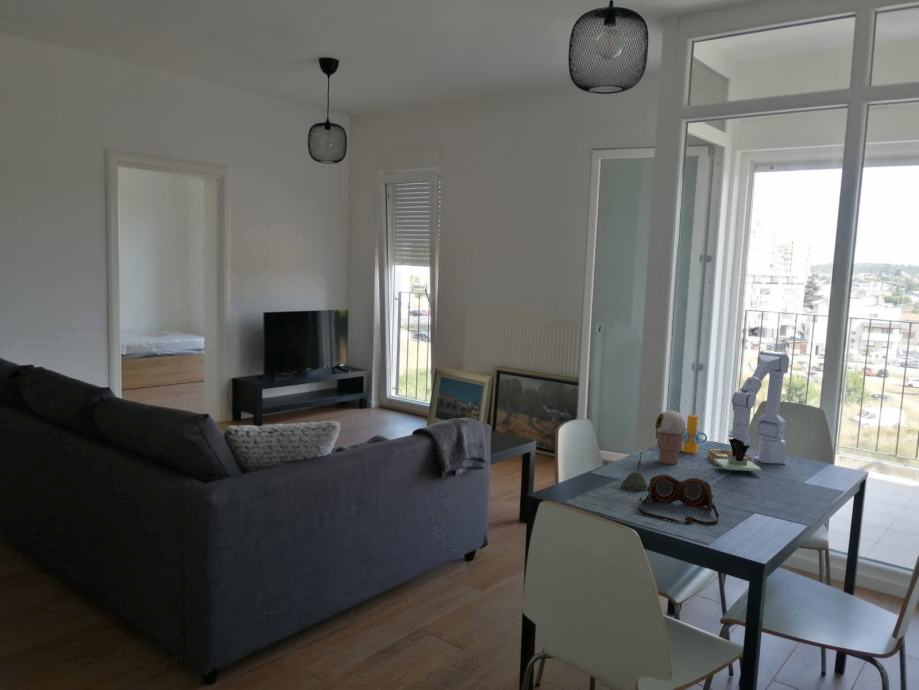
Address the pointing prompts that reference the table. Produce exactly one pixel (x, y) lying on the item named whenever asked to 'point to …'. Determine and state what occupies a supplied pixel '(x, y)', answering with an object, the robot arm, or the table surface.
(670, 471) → the table surface
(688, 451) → the yellow post with rings
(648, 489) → the goggles
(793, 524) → the table surface
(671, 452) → the ice cream cone
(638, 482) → the sword in stone
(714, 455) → the crate
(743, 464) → the lid
